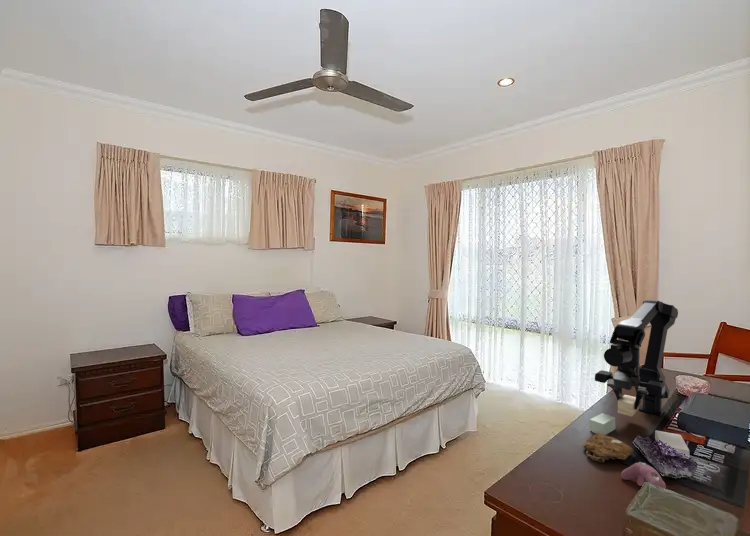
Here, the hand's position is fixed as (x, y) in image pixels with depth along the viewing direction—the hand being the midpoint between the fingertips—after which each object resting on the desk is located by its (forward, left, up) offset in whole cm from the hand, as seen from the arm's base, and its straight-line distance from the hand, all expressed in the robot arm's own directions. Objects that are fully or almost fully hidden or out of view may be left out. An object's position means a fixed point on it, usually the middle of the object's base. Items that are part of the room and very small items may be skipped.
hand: (628, 407), depth 121 cm
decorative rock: (+27, +1, -6) cm, 28 cm away
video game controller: (+39, +12, -6) cm, 41 cm away
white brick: (+10, +13, -6) cm, 17 cm away
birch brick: (0, 0, -1) cm, 1 cm away
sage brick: (+12, -4, -6) cm, 14 cm away
